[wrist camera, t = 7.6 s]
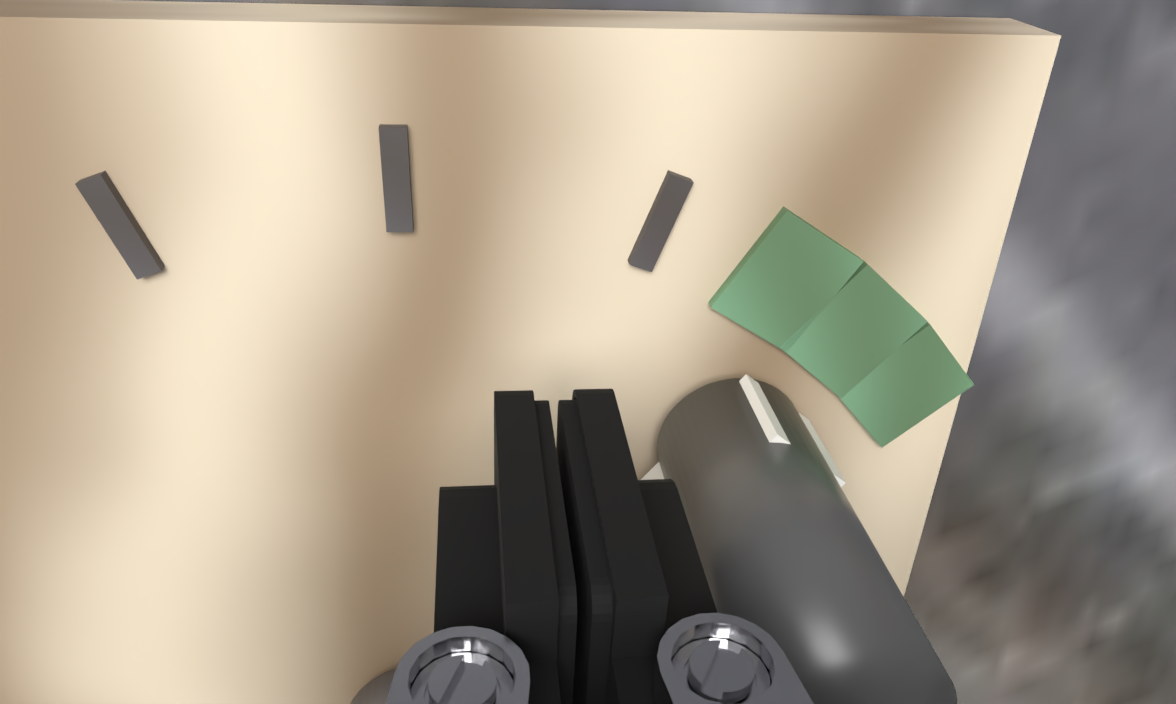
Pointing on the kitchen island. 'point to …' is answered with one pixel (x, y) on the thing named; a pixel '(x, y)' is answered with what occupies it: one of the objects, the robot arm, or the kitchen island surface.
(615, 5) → the kitchen island surface
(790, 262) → the dial board
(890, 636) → the tuner needle
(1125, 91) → the kitchen island surface
